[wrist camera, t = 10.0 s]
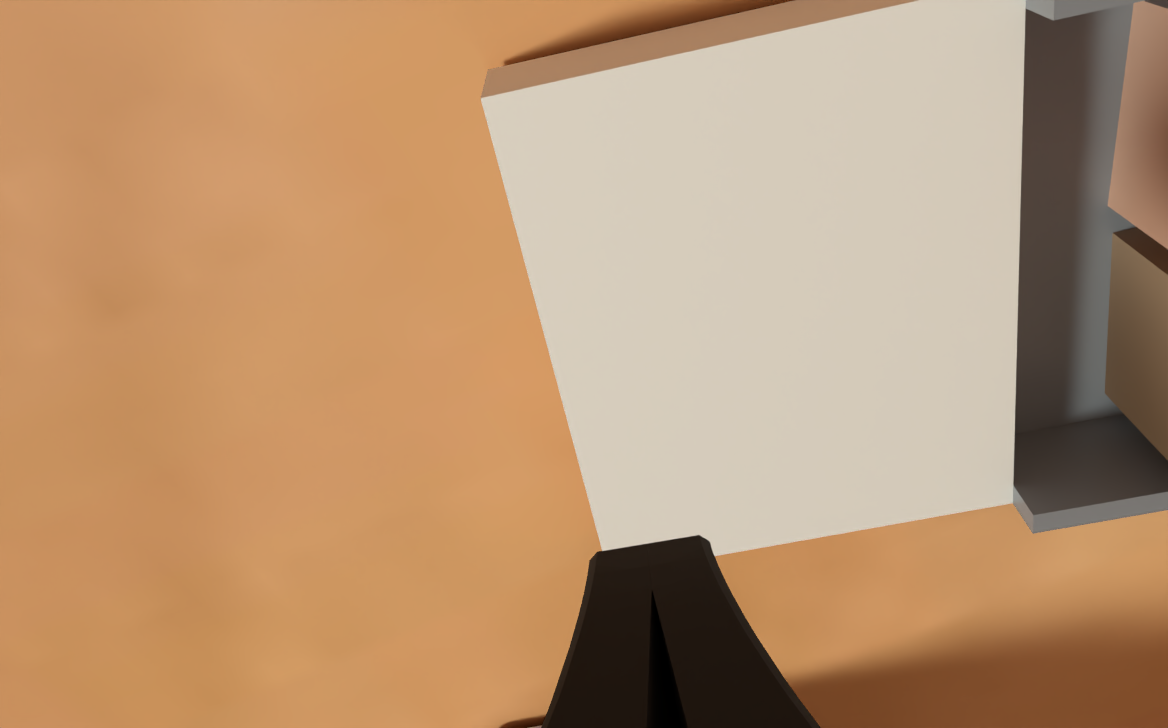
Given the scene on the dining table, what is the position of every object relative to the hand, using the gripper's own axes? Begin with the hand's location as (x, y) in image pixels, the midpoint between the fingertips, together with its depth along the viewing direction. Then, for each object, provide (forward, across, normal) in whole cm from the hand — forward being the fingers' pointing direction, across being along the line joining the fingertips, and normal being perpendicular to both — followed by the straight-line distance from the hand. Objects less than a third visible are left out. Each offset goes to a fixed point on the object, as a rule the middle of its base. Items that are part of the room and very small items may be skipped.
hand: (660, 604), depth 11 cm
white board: (+10, -3, +1) cm, 10 cm away
